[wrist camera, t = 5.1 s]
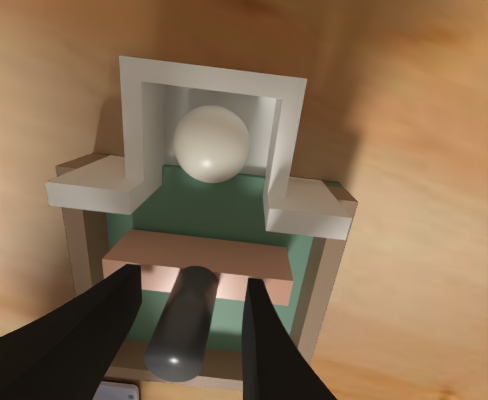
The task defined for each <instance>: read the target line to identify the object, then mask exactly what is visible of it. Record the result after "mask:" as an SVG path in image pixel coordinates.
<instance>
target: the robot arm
mask: <svg viewBox="0 0 488 400" xmlns="http://www.w3.org/2000/svg"><path fill="white" fill-rule="evenodd" d="M141 304H142V283H141V265H134V264H126V265H124V266H123V267H121V268H120V269H118V270H117V271H115V272H114V273H112V274H111V275H109V276H108V277H106V278H105V279H103V280H102V281H100V282H99V283H97V284H96V285H94V286H93V287H91V288H90V289H88V290H87V291H85V292H84V293H82V294H81V295H79V296H77V297H76V298H74V299H72V300H71V301H69V302H67V303H66V304H64V305H62V306H61V307H59V308H57V309H56V310H54V311H52V312H50V313H48V314H47V315H45V316H43V317H41V318H39V319H37V320H35V321H33V322H31V323H29V324H27V325H25V326H23V327H21V328H19V329H17V330H15V331H13V332H10V333H8V334H6V335H4V336H2V337H0V400H139V390H138V387H137V386H136V385H133V384H124V383H115V382H106V381H102V379H103V377H104V375H105V374H106V372H107V370H108V368H109V367H110V365H111V363H112V361H113V359H114V358H115V356H116V354H117V352H118V351H119V349H120V347H121V345H122V343H123V342H124V340H125V338H126V336H127V334H128V333H129V331H130V329H131V327H132V325H133V323H134V321H135V319H136V316H137V314H138V311H139V309H140V306H141ZM241 343H242V376H243V400H337V399H336V398H335V396H334V395H333V394H332V393H331V392H330V391H329V389H328V388H327V387H326V386H325V384H324V383H323V382H322V381H321V380H320V378H319V377H318V376H317V375H316V373H315V372H314V371H313V370H312V368H311V367H310V366H309V364H308V363H307V362H306V360H305V359H304V357H303V356H302V354H301V353H300V352H299V350H298V349H297V347H296V346H295V344H294V342H293V341H292V339H291V338H290V336H289V334H288V332H287V331H286V329H285V327H284V326H283V324H282V322H281V320H280V318H279V316H278V314H277V312H276V310H275V308H274V306H273V304H272V302H271V299H270V297H269V294H268V292H267V289H266V286H265V283H264V281H263V280H262V279H256V278H248V282H247V289H246V296H245V303H244V309H243V319H242V334H241Z"/></svg>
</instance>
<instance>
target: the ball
mask: <svg viewBox="0 0 488 400" xmlns="http://www.w3.org/2000/svg"><path fill="white" fill-rule="evenodd" d="M174 152H175V155H176V158H177V160H178V162H179V164H180V166H181V167H182V168H183V170H184V171H185V172H186V173H188V174H189V175H190V176H191V177H193V178H195V179H197V180H199V181H202V182H206V183H220V182H224V181H226V180H229V179H231V178H232V177H234V176H235V175H237V174H238V173H239V172H240V171H241V170H242V168H243V167H244V166H245V164H246V162H247V160H248V157H249V153H250V137H249V133H248V130H247V128H246V126H245V124H244V123H243V121H242V120H241V119H240V118H239V117H238V116H237V115H236V114H235V113H234V112H232V111H231V110H229V109H227V108H224V107H221V106H217V105H206V106H201V107H198V108H195V109H193V110H192V111H190V112H189V113H187V114H186V115H185V116H184V117H183V118H182V120H181V121H180V123H179V124H178V126H177V128H176V131H175V135H174Z"/></svg>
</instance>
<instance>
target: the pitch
mask: <svg viewBox="0 0 488 400" xmlns="http://www.w3.org/2000/svg"><path fill="white" fill-rule="evenodd" d="M119 65H120V83H121V101H122V119H123V137H124V155H125V157H122V156H113V155H105V154H96V153H92V154H89V155H86V156H83V157H80V158H77V159H74V160H71V161H69V162H66V163H63V164H60V165H57V166H55V167H56V173H57V177H56V178H53V179H51V180H48V181H46V182H45V186H46V191H47V197H48V203H49V206H57V207H62V212H63V218H64V225H65V231H66V238H67V244H68V250H69V257H70V263H71V270H72V276H73V282H74V289H75V295H76V297H77V296H79V295H81V294H82V293H84V292H85V291H87V290H88V289H90V288H91V287H93V286H94V285H96V284H97V283H99V282H100V281H102V280H103V279H104V275H103V265H102V259H103V257H104V256H105V255H106V254H107V253H108V252H109V251H110V250H111V249H112V248H113V247H114V246H115V245H116V244H117V242H118V241H119V240H120V239H121V238H122V237H123V236H124V235H125V234H126V233H127V232H128V231H129V230H130V229H135V230H143V231H152V232H161V233H169V234H178V235H186V236H195V237H204V238H212V239H221V240H229V241H238V242H247V243H255V244H264V245H272V246H281V247H286V249H287V253H288V258H289V263H290V267H291V272H292V276H293V281H294V282H293V286H292V290H291V295H290V299H289V304H288V306H284V305H275V304H273V306H274V308H275V310H276V312H277V314H278V316H279V318H280V320H281V322H282V324H283V326H284V327H285V329H286V331H287V332H288V334H289V336H290V338H291V339H292V341H293V342H294V344H295V346H296V347H297V349H298V350H299V352H300V353H301V354H302V356H303V357H304V359H305V360H306V362H307V363H308V364H309V366H310V363H311V359H312V356H313V353H314V349H315V346H316V343H317V339H318V336H319V332H320V329H321V326H322V322H323V319H324V316H325V312H326V309H327V306H328V302H329V299H330V295H331V292H332V289H333V285H334V282H335V279H336V275H337V272H338V268H339V265H340V262H341V258H342V255H343V252H344V248H345V245H346V241H347V238H348V235H349V231H350V228H351V225H352V221H353V218H354V215H355V211H356V208H357V204H358V201H357V200H356V199H355V198H354V197H353V196H352V195H351V194H350V193H349V192H348V191H347V190H346V189H345V188H344V187H343V186H342V185H341V184H340V183H339V182H331V181H323V180H314V179H306V178H298V177H289V176H290V170H291V165H292V159H293V154H294V149H295V143H296V138H297V132H298V127H299V121H300V116H301V111H302V105H303V100H304V94H305V89H306V84H307V79H305V78H297V77H289V76H281V75H273V74H265V73H257V72H249V71H241V70H232V69H224V68H216V67H208V66H200V65H192V64H184V63H176V62H168V61H160V60H151V59H143V58H135V57H127V56H119ZM206 105H217V106H221V107H224V108H227V109H229V110H231V111H232V112H234V113H235V114H236V115H237V116H238V117H239V118H240V119H241V120H242V121H243V123H244V124H245V126H246V128H247V130H248V133H249V137H250V153H249V157H248V160H247V162H246V164H245V166H244V167H243V168H242V170H241V171H240V172H239V173H238V174H237V175H235V176H234V177H232V178H231V179H229V180H226V181H224V182H220V183H206V182H202V181H199V180H197V179H195V178H193V177H191V176H190V175H189V174H188V173H186V172H185V171H184V170H183V168H182V167H181V166H180V164H179V162H178V160H177V158H176V155H175V152H174V135H175V131H176V128H177V126H178V124H179V123H180V121H181V120H182V118H183V117H184V116H185V115H186V114H187V113H189V112H190V111H192V110H193V109H195V108H198V107H201V106H206ZM169 295H170V292H161V291H152V290H143V289H142V304H141V306H140V309H139V311H138V314H137V316H136V319H135V321H134V323H133V325H132V327H131V329H130V331H129V333H128V334H127V336H126V338H125V340H124V342H123V343H122V345H121V347H120V349H119V351H118V352H117V354H116V356H115V358H114V359H113V361H112V363H111V365H110V367H109V368H108V370H107V372H106V374H105V375H104V376H108V377H118V378H127V379H136V380H145V381H154V382H163V383H172V384H181V385H190V386H199V387H208V388H217V389H227V390H236V391H243V376H242V343H241V334H242V319H243V309H244V303H245V301H240V300H231V299H222V298H216V300H215V305H214V311H213V316H212V322H211V327H210V332H209V338H208V343H207V348H206V354H205V359H204V364H203V369H202V371H201V373H200V374H199V375H198V376H197V377H195V378H194V379H192V380H189V381H185V382H170V381H166V380H163V379H161V378H158V377H157V376H155V375H154V374H152V373H151V372H150V371H149V370H148V368H147V367H146V365H145V362H144V354H145V352H146V349H147V347H148V345H149V342H150V340H151V337H152V335H153V333H154V330H155V328H156V326H157V323H158V321H159V319H160V316H161V314H162V311H163V309H164V307H165V304H166V302H167V300H168V297H169Z"/></svg>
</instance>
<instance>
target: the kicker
mask: <svg viewBox="0 0 488 400" xmlns="http://www.w3.org/2000/svg"><path fill="white" fill-rule="evenodd" d="M126 264H134V265H141V283H142V289H143V290H152V291H161V292H170V295H169V297H168V300H167V302H166V304H165V307H164V309H163V311H162V314H161V316H160V319H159V321H158V323H157V326H156V328H155V330H154V333H153V335H152V337H151V340H150V342H149V345H148V347H147V349H146V352H145V354H144V362H145V365H146V367H147V368H148V370H149V371H150V372H151V373H152V374H154V375H155V376H157V377H158V378H161V379H163V380H166V381H170V382H185V381H189V380H192V379H194V378H195V377H197V376H198V375H199V374H200V373H201V371H202V369H203V364H204V359H205V354H206V348H207V343H208V338H209V332H210V327H211V322H212V316H213V311H214V305H215V300H216V298H222V299H231V300H240V301H245V296H246V289H247V282H248V278H256V279H262V280H263V281H264V283H265V286H266V289H267V292H268V294H269V297H270V299H271V302H272V304H275V305H284V306H288V304H289V299H290V295H291V290H292V286H293V282H294V281H293V276H292V272H291V267H290V263H289V258H288V253H287V249H286V247H281V246H272V245H264V244H255V243H247V242H238V241H229V240H221V239H212V238H204V237H195V236H186V235H178V234H169V233H161V232H152V231H143V230H135V229H130V230H129V231H128V232H127V233H126V234H125V235H124V236H123V237H122V238H121V239H120V240H119V241H118V242H117V244H116V245H115V246H114V247H113V248H112V249H111V250H110V251H109V252H108V253H107V254H106V255H105V256H104V257H103V259H102V265H103V275H104V279H105V278H106V277H108V276H109V275H111V274H112V273H114V272H115V271H117V270H118V269H120V268H121V267H123V266H124V265H126Z"/></svg>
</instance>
